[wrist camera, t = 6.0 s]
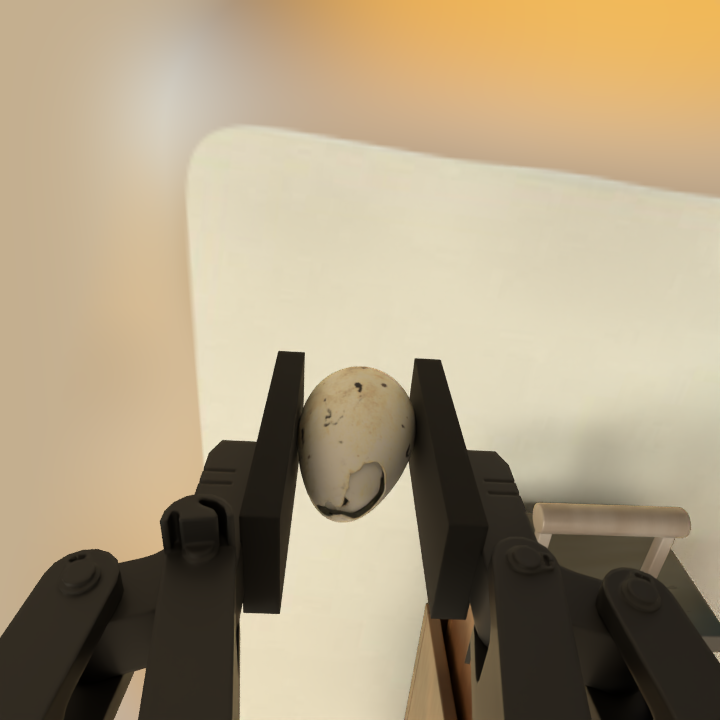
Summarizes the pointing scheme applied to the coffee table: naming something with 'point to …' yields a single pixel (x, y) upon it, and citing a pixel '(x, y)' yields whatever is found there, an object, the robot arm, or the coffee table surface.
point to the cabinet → (431, 675)
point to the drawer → (599, 567)
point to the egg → (354, 441)
